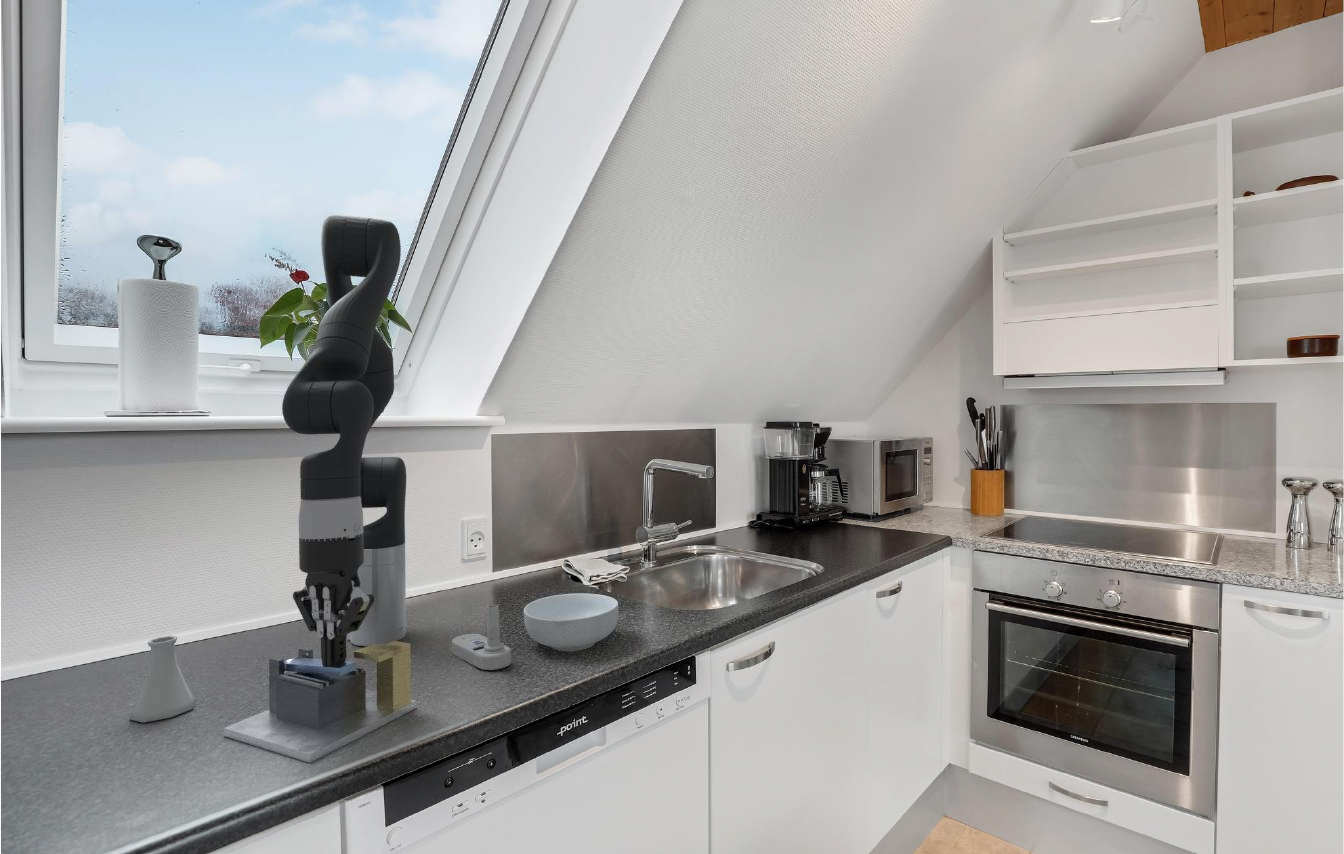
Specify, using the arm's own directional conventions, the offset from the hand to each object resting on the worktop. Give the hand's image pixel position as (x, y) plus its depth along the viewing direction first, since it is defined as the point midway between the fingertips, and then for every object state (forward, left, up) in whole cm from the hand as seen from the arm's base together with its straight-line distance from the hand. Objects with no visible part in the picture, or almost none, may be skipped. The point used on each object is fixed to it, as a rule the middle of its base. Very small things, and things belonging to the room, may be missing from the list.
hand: (334, 664), depth 85 cm
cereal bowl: (+11, +39, -8) cm, 41 cm away
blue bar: (-3, 0, -1) cm, 3 cm away
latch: (+4, +4, -7) cm, 9 cm away
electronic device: (+1, +27, -8) cm, 28 cm away
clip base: (-2, 0, -8) cm, 8 cm away
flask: (-25, -7, -8) cm, 27 cm away
